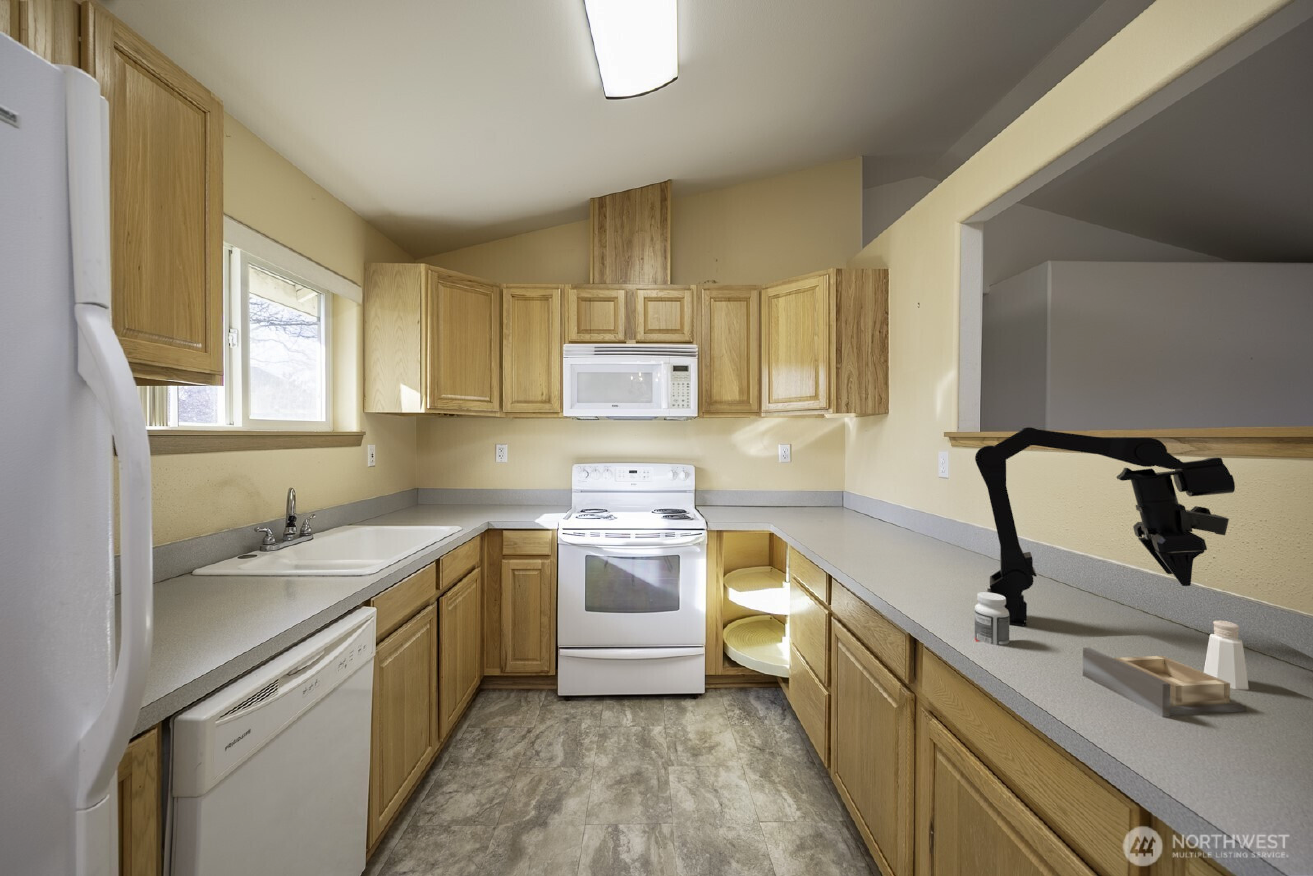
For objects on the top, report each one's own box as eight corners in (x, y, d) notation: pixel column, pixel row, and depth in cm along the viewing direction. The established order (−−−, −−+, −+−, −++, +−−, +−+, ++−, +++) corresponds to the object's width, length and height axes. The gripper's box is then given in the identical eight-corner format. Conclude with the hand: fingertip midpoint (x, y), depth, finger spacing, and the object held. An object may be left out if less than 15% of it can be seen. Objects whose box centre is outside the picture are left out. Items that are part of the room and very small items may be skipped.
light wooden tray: (1162, 676, 82) (1162, 655, 82) (1229, 706, 73) (1230, 683, 73) (1113, 678, 81) (1113, 657, 81) (1175, 709, 72) (1175, 686, 72)
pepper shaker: (1237, 685, 82) (1238, 619, 82) (1260, 701, 77) (1261, 632, 77) (1193, 678, 84) (1194, 614, 84) (1212, 693, 79) (1213, 626, 79)
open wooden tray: (1135, 668, 88) (1136, 634, 88) (1251, 720, 72) (1252, 680, 72) (1053, 671, 86) (1053, 638, 86) (1152, 726, 70) (1153, 685, 70)
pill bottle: (1003, 641, 99) (1004, 592, 98) (1013, 653, 93) (1014, 602, 93) (970, 637, 100) (971, 589, 100) (979, 649, 95) (979, 598, 95)
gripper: (1236, 500, 84) (1263, 591, 82) (1197, 489, 99) (1219, 566, 98) (1148, 507, 90) (1171, 593, 89) (1124, 496, 106) (1143, 569, 104)
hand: (1178, 579), depth 95 cm, fingers open, 9 cm apart
